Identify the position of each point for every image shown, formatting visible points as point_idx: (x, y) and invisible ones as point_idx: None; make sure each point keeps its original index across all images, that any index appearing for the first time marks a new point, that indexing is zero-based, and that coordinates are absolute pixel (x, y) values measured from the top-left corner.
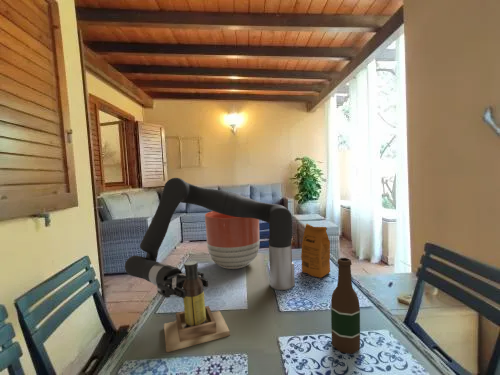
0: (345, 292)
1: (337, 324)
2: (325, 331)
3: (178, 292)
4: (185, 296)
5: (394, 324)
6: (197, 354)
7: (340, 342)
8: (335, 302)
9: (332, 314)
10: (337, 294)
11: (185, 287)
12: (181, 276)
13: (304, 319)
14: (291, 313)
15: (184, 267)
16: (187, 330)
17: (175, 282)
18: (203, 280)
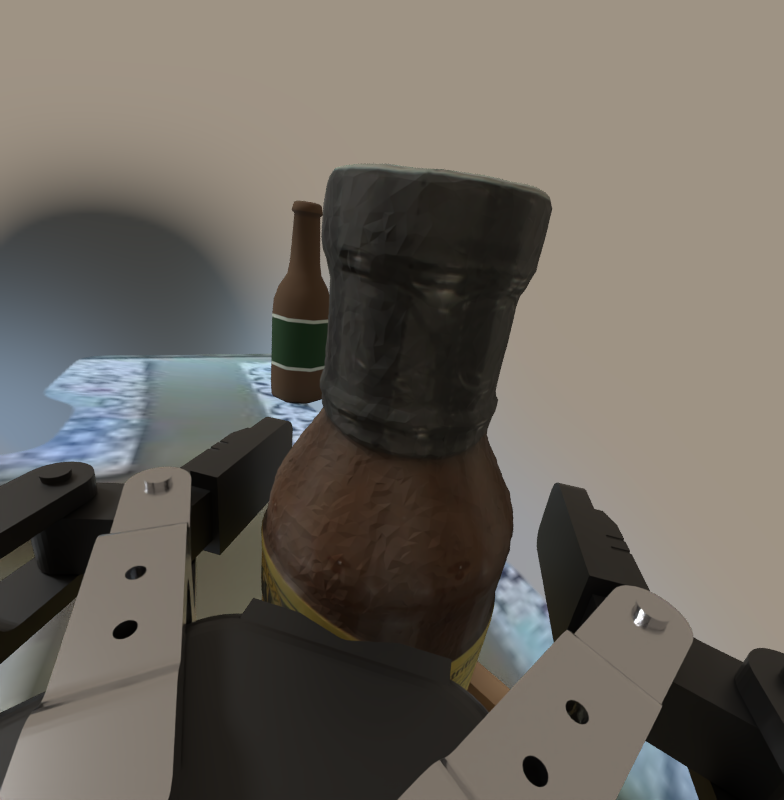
0: (321, 277)
1: (324, 347)
2: (256, 407)
3: (618, 536)
4: (541, 529)
5: (223, 356)
6: (501, 653)
7: None
8: (322, 303)
9: (315, 334)
10: (318, 286)
11: (510, 502)
12: (172, 780)
13: (198, 429)
14: (155, 449)
15: (537, 256)
16: (506, 689)
17: (580, 639)
18: (270, 443)
